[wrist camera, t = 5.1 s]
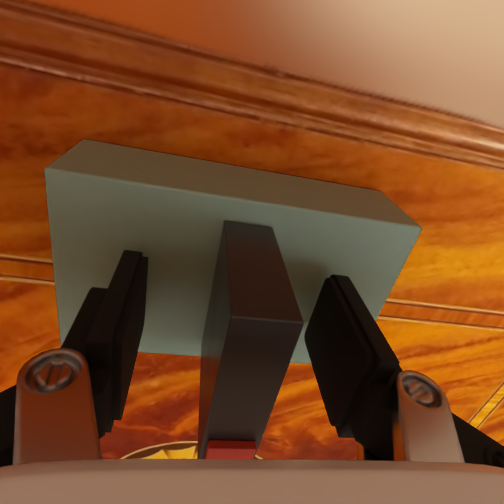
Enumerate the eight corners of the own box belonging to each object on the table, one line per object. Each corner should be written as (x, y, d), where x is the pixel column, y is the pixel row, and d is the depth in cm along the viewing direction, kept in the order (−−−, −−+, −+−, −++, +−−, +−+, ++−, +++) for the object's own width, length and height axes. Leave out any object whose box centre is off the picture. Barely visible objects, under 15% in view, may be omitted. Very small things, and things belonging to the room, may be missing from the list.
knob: (223, 219, 11) (231, 324, 7) (273, 226, 11) (308, 331, 7) (201, 344, 13) (196, 473, 9) (241, 347, 14) (253, 473, 10)
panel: (88, 290, 16) (59, 348, 13) (82, 137, 12) (42, 167, 9) (329, 314, 18) (353, 367, 15) (381, 190, 15) (424, 227, 12)
